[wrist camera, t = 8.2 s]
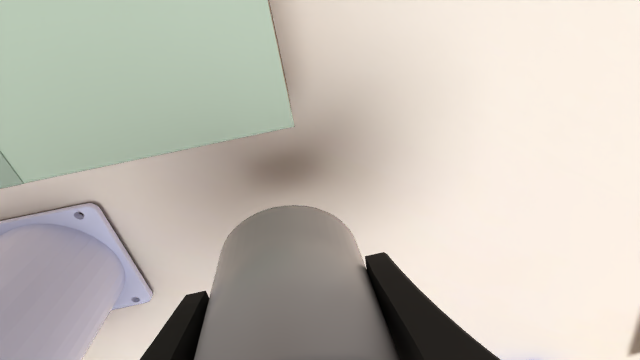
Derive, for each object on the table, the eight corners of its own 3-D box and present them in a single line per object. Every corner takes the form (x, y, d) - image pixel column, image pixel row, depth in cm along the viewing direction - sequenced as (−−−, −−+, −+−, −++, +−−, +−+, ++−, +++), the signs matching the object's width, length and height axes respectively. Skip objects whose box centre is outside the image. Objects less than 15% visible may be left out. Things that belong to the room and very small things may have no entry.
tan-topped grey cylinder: (242, 323, 12) (221, 499, 7) (198, 222, 10) (131, 392, 5) (363, 296, 12) (414, 452, 8) (350, 191, 10) (412, 328, 5)
